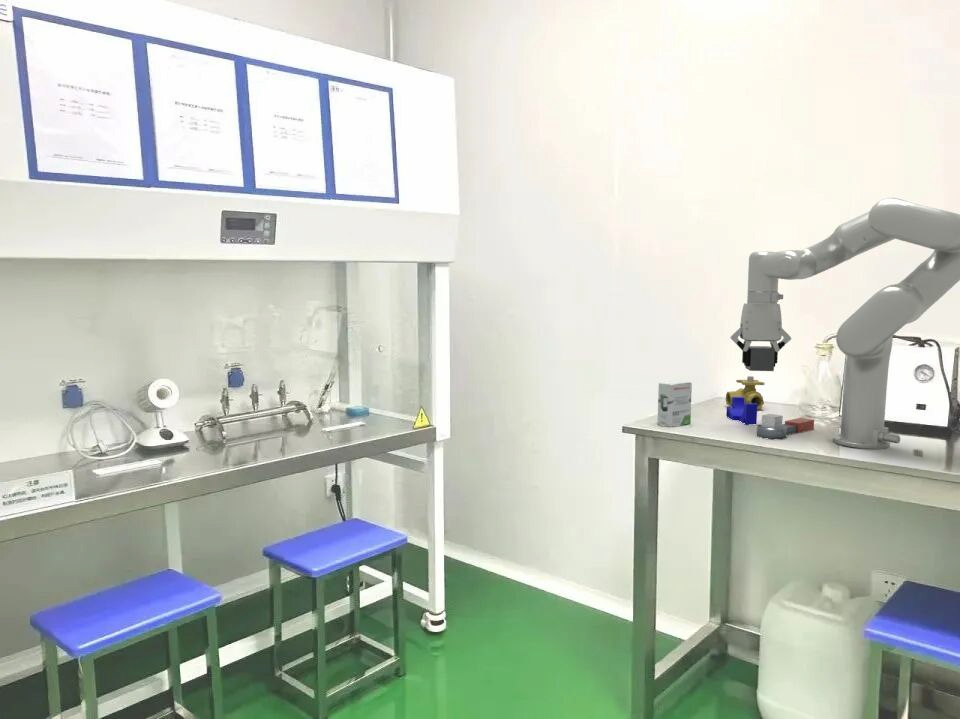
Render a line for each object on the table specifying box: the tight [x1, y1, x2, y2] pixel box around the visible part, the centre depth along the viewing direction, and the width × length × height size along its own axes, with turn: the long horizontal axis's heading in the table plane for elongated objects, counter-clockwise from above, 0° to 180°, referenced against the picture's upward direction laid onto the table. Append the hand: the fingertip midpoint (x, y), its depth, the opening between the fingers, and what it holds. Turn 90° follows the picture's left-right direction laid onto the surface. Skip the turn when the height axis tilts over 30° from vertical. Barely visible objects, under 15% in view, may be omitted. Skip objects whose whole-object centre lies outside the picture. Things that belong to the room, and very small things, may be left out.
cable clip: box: [725, 397, 758, 426], centre depth 218 cm, size 12×4×6 cm, turn 0°
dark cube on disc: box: [744, 345, 775, 372], centre depth 205 cm, size 6×6×6 cm
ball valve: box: [725, 375, 765, 410], centre depth 239 cm, size 13×10×10 cm
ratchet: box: [756, 413, 815, 440], centre depth 202 cm, size 21×7×6 cm, turn 128°
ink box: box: [657, 380, 693, 428], centre depth 212 cm, size 9×5×12 cm, turn 124°
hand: (759, 365), depth 205 cm, fingers closed on dark cube on disc, 6 cm apart
